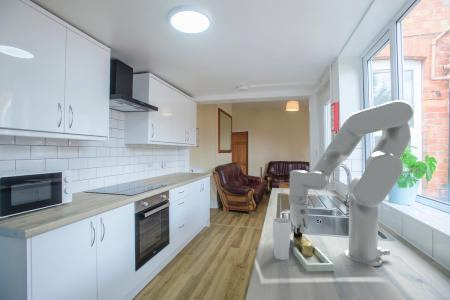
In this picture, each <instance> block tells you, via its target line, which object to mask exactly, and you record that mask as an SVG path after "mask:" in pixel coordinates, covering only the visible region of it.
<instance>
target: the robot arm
mask: <svg viewBox="0 0 450 300" xmlns="http://www.w3.org/2000/svg"><path fill="white" fill-rule="evenodd" d="M413 116H414V109H413V106H412V105H411V104H410V103H409V102H407V101H404V100H394V101H393V100H392V101H390V102H386V103H383V104H380V105H377V106H373V107H370V108H366V109H362V110H360V111H356V112H354V113H352V114H350V115H349V117H347V119H346V120H345V121H344V123H343V124H342V125H341V127H340V128H339V130H338V131H337V133H336V134H335V135H334V137H333V138H332V140H331V141H330V143H329V144H328V146H327V148H326V149H325V151H324V153H323V154H322V156H321V158H320V159H319V161H317V163H316V165H315V166H314V168H313V170H312V171H306V170H304V169H303V170H302V169H293V170H291V171H290V173H289V199H288V200H289V201H288V202H289V203H290V209H289V210H290V211H289V220H290V221H291V225H293V226H292V228H293V230H292V231H293V234H292V235H293V239H292V240H293V241H294V237H302V236H303V233H305V229H308V228H309V208H308V204H309V190H314V191H323V190H325V189H326V188H327V187H328V185H329V180H330V178H331V176H332V175H333V173H334V172H335V171H336V169H337V168H338V167H339V166H340V165H342V163H344V162H345V161H346V160H347V159H348V158H349V157H350V156H351V154H352V153H353V151H354V150H355V149H356V147H357V146H358V144H359V143H360V142H361V141H362V139H363V138H364V136H365V135H366V134H372V133H376V132H380V131H381V136H380V138H379V140H378V142H377V144H376V145H375V147H374V148H373V149H372V151H371V153H370V154H369V155H368V157H367V158H366V160H365V165H364V166H365V170H364V172H363V173H362V175H361V176H357V177H355V178H353V179H351V181H350V183H349V185H348V201H349V202H348V204H349V205H348V208H349V210H348V213H349V214H348V248H347V249H345V250H344V254H345V256H347V258H350V259H352V260H353V261H357V262H358V263H362V264H369V265H370V266H372V267H378V266H382V264H383V258H382V256H390V254H391V251H390V250H389V249H383V248H382V247H380V246H379V247H378V241H379V240H378V239H379V235H378V234H379V205H381V204H382V203H383V202H384V201H385V200H386V198H387V197H388V195H389V193H391V191H392V190H393V188H394V186H395V185H396V183H397V182H398V180H399V179H400V177H401V175H402V172H403V163H402V161H401V158H402V155H403V154H404V152H405V151H406V148H407V147H408V145H409V143H410V140H411V129H410V128H411V127H410V125H409V123H408V122H409V121H410V120H411V119H412V118H413Z"/></svg>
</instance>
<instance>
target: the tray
mask: <svg viewBox="0 0 450 300" xmlns="http://www.w3.org/2000/svg"><path fill="white" fill-rule="evenodd" d="M293 254H294V256H295V257H296V259H297V260H298V261H299V263H300V265H301V266H302V267H303V269H305V271H306V272H334V271H335V264H334V262H332V261H331V259H330V258H328V257H327V256H326V255H325V253H323V252H322V250H321V249H319V247H316V246H315V253H314V254H315V255H316V256H317V257H318V259H319V260H321V262H309V261H307V259H306V258H305V256H302V254H301V253H300V252H299V250H298V249H297V248H294V251H293Z"/></svg>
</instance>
